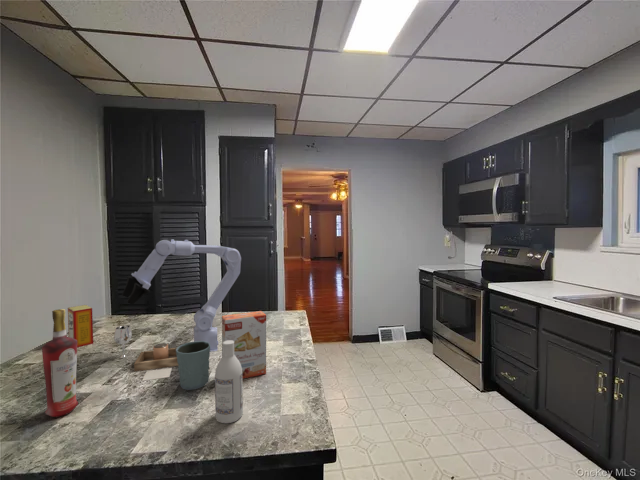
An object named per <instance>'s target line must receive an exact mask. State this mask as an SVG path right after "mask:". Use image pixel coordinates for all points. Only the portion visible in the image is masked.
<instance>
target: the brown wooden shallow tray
mask: <svg viewBox="0 0 640 480" xmlns="http://www.w3.org/2000/svg"><path fill="white" fill-rule="evenodd" d="M176 349H177V347H172V348H171V347H170V348H169V347H168V357H169V358H167V359H159V360H153V349H152V350H144V351H141V352H140V354H139V355H138V356H137V358H136V360H135V362H134V363H133V365H134V367H133V368H134V370H133V371H134V373H135V372H140V371H142V372H143V371H151V370H158V369H166V368H173V367H178V366H179V365H178V362H177V355H176Z"/></svg>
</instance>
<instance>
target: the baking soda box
mask: <svg viewBox="0 0 640 480" xmlns="http://www.w3.org/2000/svg"><path fill="white" fill-rule="evenodd" d="M93 321H94V320H93V308H92V307H91V306H89V305H88V304H83V305H77V306H76V305H75V306H70V307H67V325H68V326H67V327H68V329H67V332H68V337H71V338H74V339H76V340H77V348H81V347H85V346H91V345H93V344H94V324H93Z"/></svg>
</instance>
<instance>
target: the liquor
mask: <svg viewBox="0 0 640 480" xmlns="http://www.w3.org/2000/svg"><path fill="white" fill-rule="evenodd" d="M51 312H52V321H53V327H52V339H51V340H48V341H47V342H46V343H45V344H43V345H42V346H41V352H42V353H41V355H42V365H43V373H44V374H43V376H44V381H45V382H44V383H45V392H46V410H45V411H44V413H45V415H47V416H49V417H52V418H60V417H64V416H66V415H68V414H70V413H71V412H72V411H73V410H74V409H75V408H76V407H78V405H79V402H78V400H77V365H78V359H77V358H78V347H77V340H76V339H74V338H71V337H69V336H68V334H67V330H66V329H67V328H66V322H65V319H66V309H65V308H60V309H55V310H52V311H51Z"/></svg>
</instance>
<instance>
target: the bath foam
mask: <svg viewBox="0 0 640 480" xmlns="http://www.w3.org/2000/svg"><path fill="white" fill-rule="evenodd" d="M243 388H244V387H243V379H242V367H241V364H240V362H239V360H238V359H237V358H236V356H235V355H234V341H232V340H227V341H224V342H223V357H222V356H221V358H220V360H219V361H218V363H217V365H216V367H215V372H214V392H215V393H214V397H215V399H214V400H215V401H214V402H215V404H214V405H215V419H216V421H217V422H219V423H222V424H231V423H234V422H236V421H238V420H240V419H241V418H242V415H243V412H244V410H243V409H244V407H243V406H244V405H243V404H244V402H243V401H244V398H243V397H244V395H243V394H244V392H243V391H244V390H243Z"/></svg>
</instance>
